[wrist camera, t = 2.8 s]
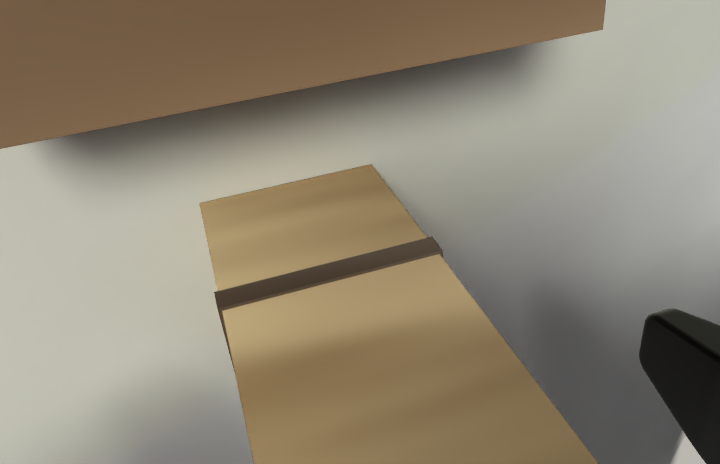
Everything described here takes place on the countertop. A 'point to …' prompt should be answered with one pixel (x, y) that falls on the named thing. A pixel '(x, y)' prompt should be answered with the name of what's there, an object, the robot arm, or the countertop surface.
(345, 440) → the peg
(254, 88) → the board
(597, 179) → the countertop surface
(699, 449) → the robot arm
